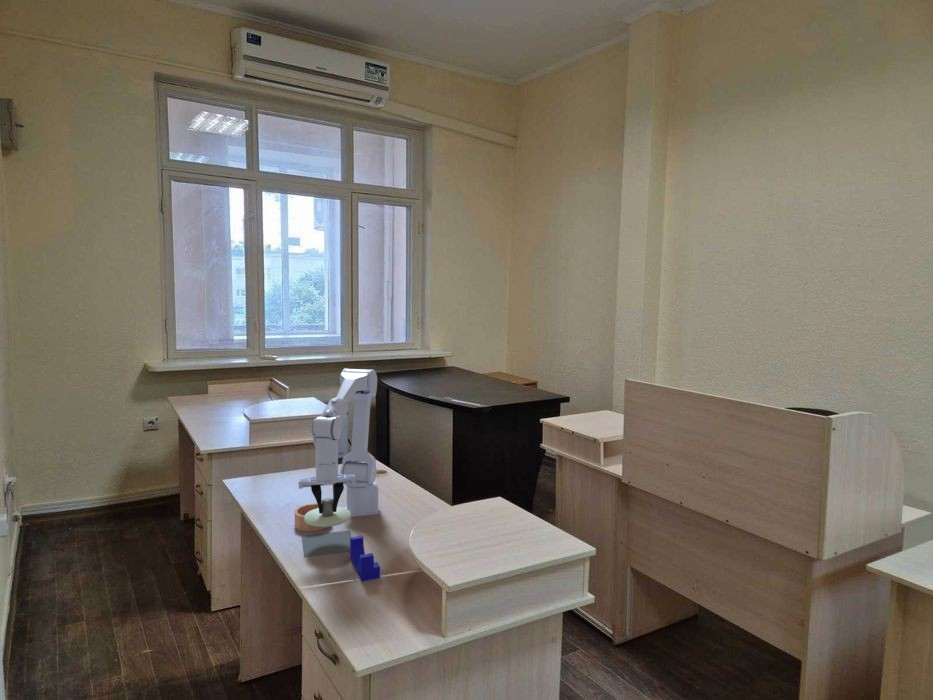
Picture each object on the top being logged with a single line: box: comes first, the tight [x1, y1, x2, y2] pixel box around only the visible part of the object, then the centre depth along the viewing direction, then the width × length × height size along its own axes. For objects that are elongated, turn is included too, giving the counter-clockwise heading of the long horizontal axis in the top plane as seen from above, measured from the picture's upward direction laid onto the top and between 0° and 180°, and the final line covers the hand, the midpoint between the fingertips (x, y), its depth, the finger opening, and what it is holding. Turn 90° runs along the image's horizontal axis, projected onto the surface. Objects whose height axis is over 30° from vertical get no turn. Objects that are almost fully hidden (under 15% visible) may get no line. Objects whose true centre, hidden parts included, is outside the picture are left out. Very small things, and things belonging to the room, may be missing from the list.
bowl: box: [294, 502, 328, 533], centre depth 167 cm, size 10×10×4 cm
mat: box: [301, 529, 352, 558], centre depth 155 cm, size 13×13×1 cm
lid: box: [304, 497, 352, 528], centre depth 154 cm, size 12×12×5 cm
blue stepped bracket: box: [349, 535, 381, 582], centre depth 142 cm, size 12×4×6 cm, turn 23°
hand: (327, 511), depth 154 cm, fingers closed on lid, 3 cm apart
